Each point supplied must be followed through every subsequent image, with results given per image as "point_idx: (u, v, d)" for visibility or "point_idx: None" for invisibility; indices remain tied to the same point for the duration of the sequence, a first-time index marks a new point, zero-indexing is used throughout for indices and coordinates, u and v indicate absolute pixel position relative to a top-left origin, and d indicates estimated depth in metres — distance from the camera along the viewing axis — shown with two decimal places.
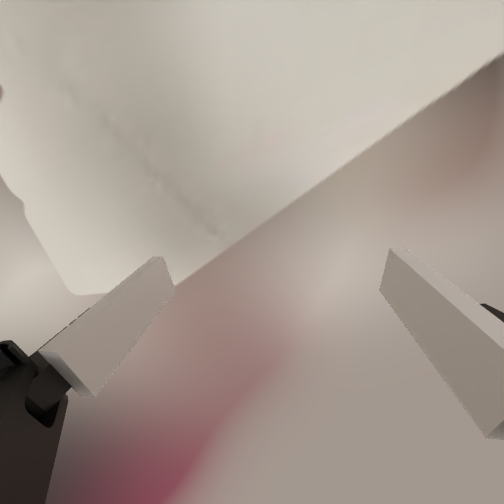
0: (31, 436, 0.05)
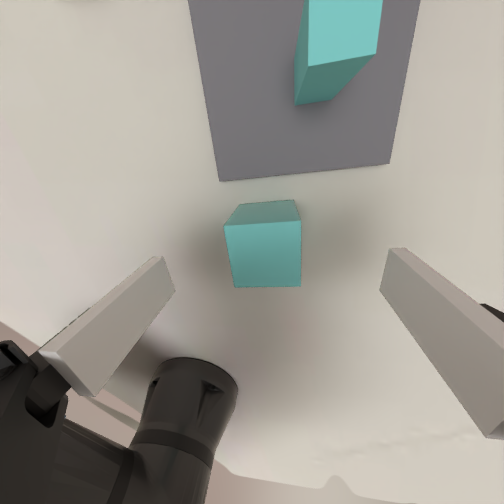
0: (31, 436, 0.05)
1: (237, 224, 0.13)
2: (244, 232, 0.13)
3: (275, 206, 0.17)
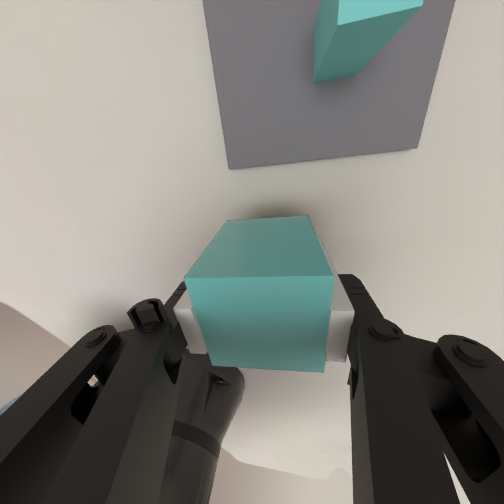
0: (165, 390, 0.06)
1: (210, 275, 0.07)
2: (222, 290, 0.07)
3: (280, 228, 0.10)
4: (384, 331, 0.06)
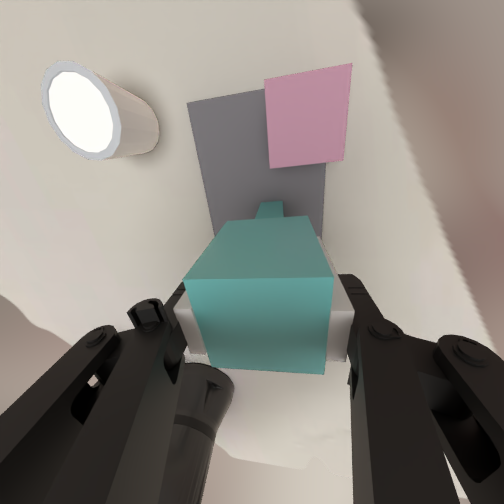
0: (164, 390, 0.06)
1: (209, 276, 0.07)
2: (222, 292, 0.07)
3: (280, 229, 0.10)
4: (384, 331, 0.06)
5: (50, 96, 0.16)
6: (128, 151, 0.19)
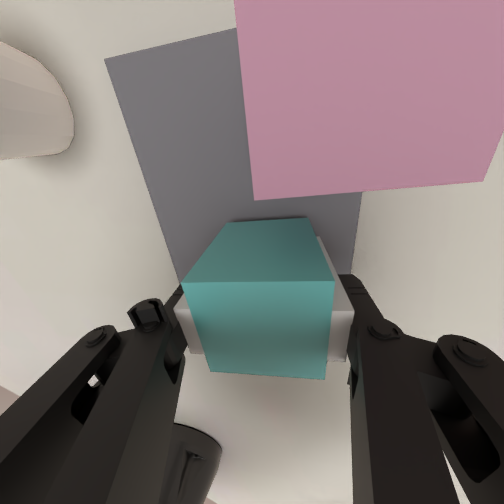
0: (165, 390, 0.06)
1: (207, 279, 0.07)
2: (221, 296, 0.07)
3: (280, 231, 0.10)
4: (384, 331, 0.06)
5: None
6: None
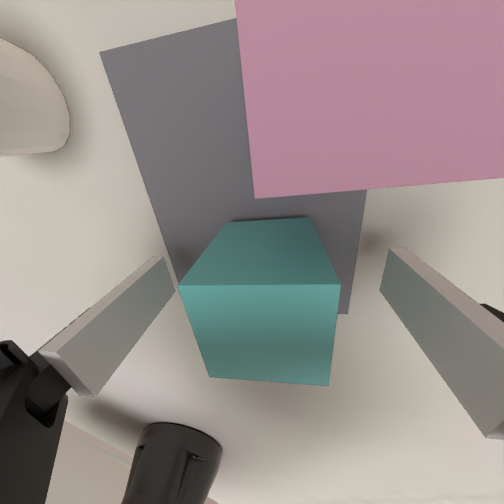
0: (31, 436, 0.05)
1: (206, 282, 0.06)
2: (219, 299, 0.06)
3: (281, 231, 0.10)
4: None
5: None
6: None
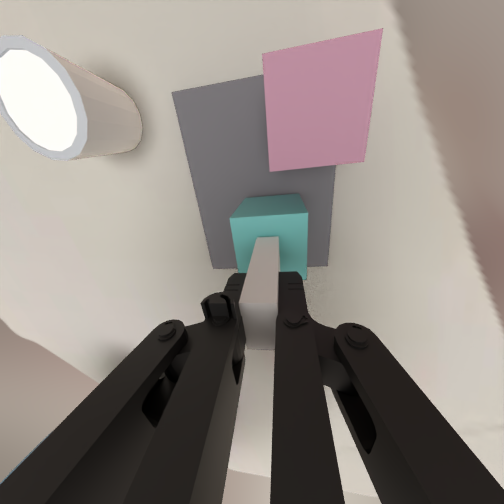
0: (231, 391, 0.06)
1: (243, 216, 0.13)
2: (250, 225, 0.13)
3: (281, 199, 0.16)
4: (295, 320, 0.06)
5: None
6: (102, 149, 0.16)
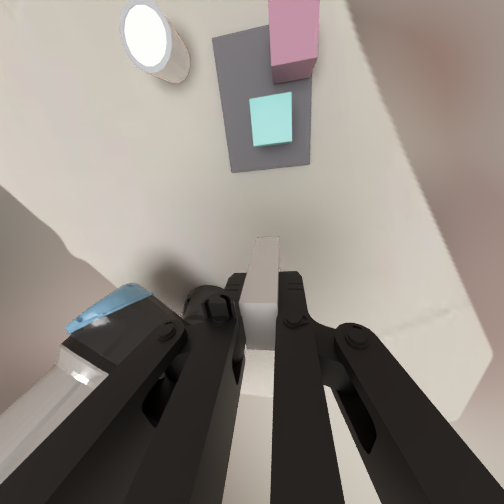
0: (231, 391, 0.06)
1: (256, 98, 0.24)
2: (260, 102, 0.24)
3: None
4: (295, 320, 0.06)
5: (125, 23, 0.23)
6: (171, 71, 0.27)
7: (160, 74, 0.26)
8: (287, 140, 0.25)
